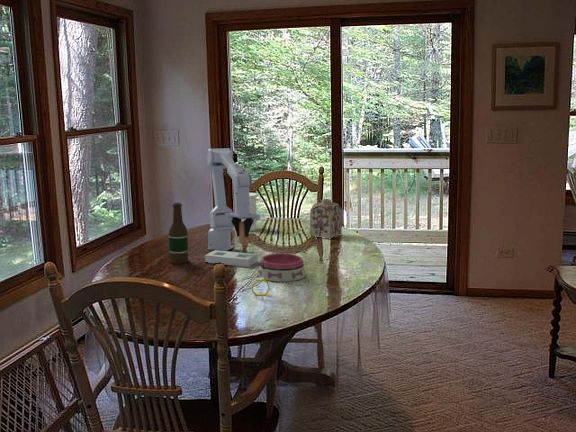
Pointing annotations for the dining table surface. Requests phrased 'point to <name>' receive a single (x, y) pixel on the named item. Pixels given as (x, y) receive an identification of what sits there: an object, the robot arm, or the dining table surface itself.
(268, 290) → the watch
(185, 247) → the beer bottle
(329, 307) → the dining table surface
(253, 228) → the decorative container
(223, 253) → the hole block
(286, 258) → the dog bowl
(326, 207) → the decorative jar
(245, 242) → the peg
